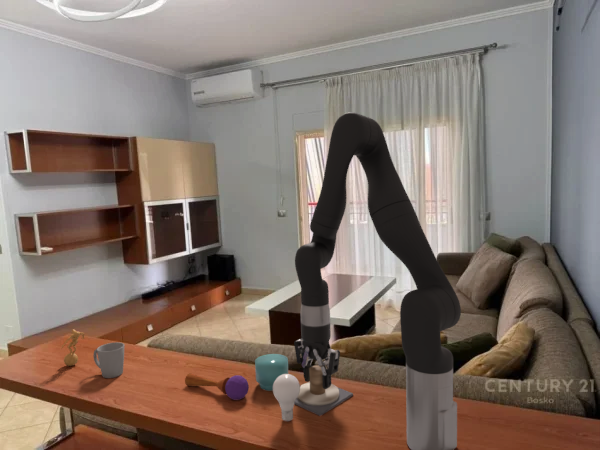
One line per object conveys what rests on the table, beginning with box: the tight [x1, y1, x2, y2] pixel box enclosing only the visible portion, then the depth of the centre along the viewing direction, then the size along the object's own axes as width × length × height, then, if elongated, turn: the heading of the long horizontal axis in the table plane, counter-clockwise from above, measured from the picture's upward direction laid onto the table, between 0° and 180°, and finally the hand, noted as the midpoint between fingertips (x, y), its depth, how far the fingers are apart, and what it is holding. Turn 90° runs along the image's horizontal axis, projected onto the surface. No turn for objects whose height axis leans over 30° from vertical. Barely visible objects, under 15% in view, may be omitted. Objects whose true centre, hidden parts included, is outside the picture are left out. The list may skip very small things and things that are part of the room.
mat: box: [294, 386, 354, 417], centre depth 109 cm, size 13×13×1 cm
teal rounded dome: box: [254, 353, 289, 392], centre depth 117 cm, size 9×9×7 cm
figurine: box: [61, 328, 85, 367], centre depth 133 cm, size 8×6×12 cm
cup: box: [93, 341, 125, 379], centre depth 127 cm, size 8×10×8 cm
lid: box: [297, 364, 339, 406], centre depth 109 cm, size 11×11×7 cm
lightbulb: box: [272, 373, 301, 422], centre depth 98 cm, size 6×6×11 cm
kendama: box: [184, 373, 250, 401], centre depth 114 cm, size 6×6×20 cm
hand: (317, 383), depth 109 cm, fingers open, 5 cm apart
